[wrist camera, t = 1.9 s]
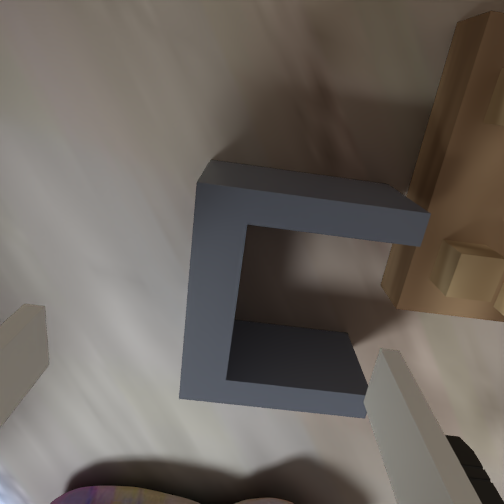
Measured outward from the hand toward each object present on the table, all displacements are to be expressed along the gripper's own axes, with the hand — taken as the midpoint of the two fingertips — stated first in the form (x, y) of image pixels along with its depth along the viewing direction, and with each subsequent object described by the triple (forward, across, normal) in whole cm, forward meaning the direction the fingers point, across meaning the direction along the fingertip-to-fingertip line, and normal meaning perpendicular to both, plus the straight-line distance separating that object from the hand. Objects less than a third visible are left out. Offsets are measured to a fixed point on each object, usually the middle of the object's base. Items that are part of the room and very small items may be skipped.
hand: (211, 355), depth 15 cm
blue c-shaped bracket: (+10, +3, 0) cm, 11 cm away
